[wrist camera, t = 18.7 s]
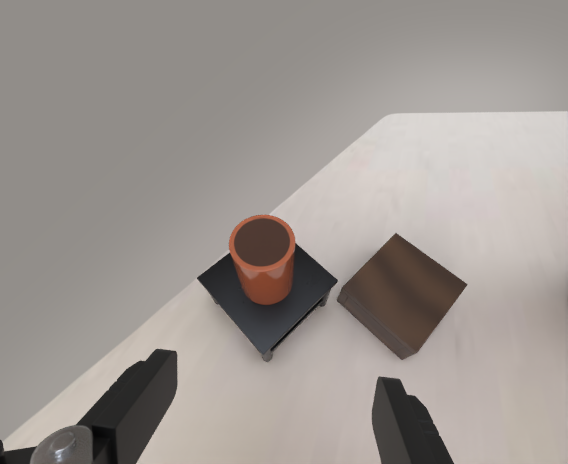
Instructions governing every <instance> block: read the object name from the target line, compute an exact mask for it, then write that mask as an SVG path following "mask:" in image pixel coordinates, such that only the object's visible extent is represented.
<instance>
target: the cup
mask: <svg viewBox="0 0 568 464" xmlns="http://www.w3.org/2000/svg"><path fill="white" fill-rule="evenodd" d="M229 250H230V254H231V257H232V260H233V263H234V266H235V268H236V271H237V274H238V277H239V280H240V283H241V286H242V289H243V291H244V293H245V295H246V296H247V297H248V298H249V299H250V300H252V301H253V302H255V303H258V304H262V305H270V304H275V303H277V302H280V301H281V300H283V299H284V298H285V297H286V296H287V295H288V294H289V292H290V290H291V288H292V285H293V273H294V257H295V236H294V233H293V231H292V229H291V228H290V227H289V225H288V224H287V223H286V222H284V221H283V220H281V219H280V218H277V217H274V216H270V215H256V216H253V217H250V218H248V219H245V220H244V221H242V222H241V223H240V224H238V225H237V226H236V227H235V229H234V230H233V232H232V234H231V236H230V240H229Z"/></svg>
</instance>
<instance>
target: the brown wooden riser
mask: <svg viewBox="0 0 568 464" xmlns="http://www.w3.org/2000/svg"><path fill="white" fill-rule="evenodd" d="M466 286H467V284H466V283H465V282H463V281H462V280H461V279H459V278H458V277H456V276H455V275H454V274H452V273H451V272H449V271H448V270H447V269H445V268H444V267H443V266H441V265H440V264H438V263H437V262H436V261H434V260H433V259H431V258H430V257H429V256H427V255H426V254H424V253H423V252H422V251H420V250H419V249H417V248H416V247H415V246H413V245H412V244H411V243H409V242H408V241H406V240H405V239H404V238H402V237H401V236H399V235H398V234H397V233H395V234H394V235H393V236H392V237H391V238H390V239H389V241H388V242H387V243H386V244H385V245H384V246H383V247H382V248H381V249H380V250H379V251H378V252H377V253H376V254H375V255H374V256H373V257H372V258H371V259H370V260H369V261H368V262H367V263H366V264H365V265H364V266H363V267H362V268H361V269H360V270H359V271H358V272H357V273H356V274H355V275H354V276H353V277H352V278H351V279H350V280H349V281H348V282H347V283H346V284H345V285H344V286H343V288H342V290H341V292H340V294H339V296H338V299H337V301H338V302H339V303H340V304H341V305H343V306H344V307H345V308H346V309H347V310H348V311H349V312H350V313H351V314H352V315H353V316H354V317H356V318H357V319H358V320H359V321H360V322H361V323H362V324H363V325H364V326H365V327H366V328H368V329H369V330H370V331H371V332H372V333H373V334H374V335H375V336H376V337H377V338H378V339H380V340H381V341H382V342H383V343H384V344H385V345H386V346H387V347H388V348H389V349H390V350H392V351H393V352H394V353H395V354H396V355H397V356H398V357H399V358H400V359H401V360H403V359H405V358H407V357H409V356H411V355H413V354H415V353H417V352H418V351H419V349H420V348H421V347H422V345H423V344H424V343H425V341H426V340H427V339H428V337H429V336H430V335H431V333H432V332H433V331H434V329H435V328H436V326H437V325H438V324H439V322H440V321H441V320H442V318H443V317H444V316H445V314H446V313H447V312H448V310H449V309H450V308H451V306H452V305H453V303H454V302H455V301H456V299H457V298H458V297H459V295H460V294H461V293H462V291H463V290H464V289H465V287H466Z"/></svg>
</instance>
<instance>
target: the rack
mask: <svg viewBox="0 0 568 464" xmlns="http://www.w3.org/2000/svg"><path fill="white" fill-rule="evenodd" d="M197 279H198V280H199V281H200V283H201V284H202V285H203V286H204V287H205V288H206V290H207V291H208V292H209V293H210V295H211V297H212V298H213V300H214V301H215V303H216V304H219V305H220V306H221V307H222V308H223V310H224V311H225V312H226V313H227V314H228V315H229V317H230V318H231V319H232V320H233V321H234V322H235V324H236V325H237V326H238V327H239V328H240V329H241V331H242V332H243V333H244V334H245V335H246V336H247V338H248V339H249V340H250V341H251V342H252V343H253V345H254V346H255V347H256V348H257V349H258V351H259V352H260V353H261V354H262V357H263V359H264V361H270V360H271V359H272V352H273V351H274V350H275V349H276V348H277V347H278V346H279V345H280V344H281V343H282V342H283V341H284V340H285V339H286V338H287V337H288V336H289V335H290V334H291V333H292V332H293V331H294V330H295V329H296V328H297V327H298V326H299V325H300V324H301V323H302V322H303V321H304V320H305V319H306V318H307V317H308V316H309V315H310V314H311V313H312V312H313V311H314V310H315V309H316V308H317V307H318V306H324V305H325V304H326V301H327V298H328V295H329V293H330V290H331V288H332V287H333V286H334V285H335V284H336V283H337V281H338V280H337V279H336V278H335V277H333V276H332V275H331V274H330V273H329V272H328V271H327V270H325V269H324V268H323V267H322V266H321V265H320V264H319V263H317V262H316V261H315V260H314V259H313V258H312V257H311V256H309V255H308V254H307V253H306V252H305V251H304V250H303V249H302V248H300V247H299V246H298V245H297V244H296V243H295V257H294V273H293V285H292V288H291V290H290V292H289V294H288V295H287V296H286V297H285V298H284V299H283V300H281V301H280V302H277V303H275V304H270V305H262V304H258V303H255V302H253V301H252V300H250V299H249V298H248V297H247V296H246V295H245V293H244V291H243V289H242V286H241V283H240V280H239V277H238V274H237V271H236V268H235V266H234V263H233V260H232V257H231V254H230V253H229V254H227V255H226V256H225V257H223V258H222V259H221V260H219V261H218V262H217V263H216V264H214V265H213V266H212V267H210V268H209V269H208V270H207V271H205V272H204V273H203V274H201V275H200V276H199V277H197Z"/></svg>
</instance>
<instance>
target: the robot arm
mask: <svg viewBox="0 0 568 464" xmlns="http://www.w3.org/2000/svg"><path fill="white" fill-rule="evenodd" d="M176 390H177V353H176V351H171V350H163V349H156V350H155V351H154V352H153V353H152V354H151V355H150V356H149V358H148V359H147V360H146V361H139V362H137V363H136V364H134V365H132V366H131V367H129V368H128V369H126V370H125V372H124V373H123V374H122V375H121V376H120V377H119V378H118V379H117V382H115V383H114V384H113V385H112V386H111V387H110V388H109V390H108V391H106V392H105V393H104V395H103V396H102V397H101V398H100V399H99V400H98V401H97V402H96V403H95V404H94V406H93V407H92V408H91V409H90V410H89V411H88V412H87V413H86V414H85V415H84V417H83V418H82V419H81V420H80V421H79V422H78V423H77V424H76V425H74V426H69V427H65V428H63V429H60V430H58V431H56V432H54V433H53V434H51V435H50V436H48V437H47V438H45V439H44V440H43V441H42V442H41V443H40V444H39V445H38V446H36V447H30V448H24V449H18V450H11V451H5V452H4V448H3V443H2V441H1V440H0V464H136V463H137V461H138V459H139V457H140V456H141V454H142V452H143V451H144V449H145V447H146V446H147V444H148V442H149V440H150V439H151V437H152V435H153V434H154V432H155V430H156V429H157V427H158V425H159V423H160V422H161V420H162V418H163V417H164V415H165V413H166V411H167V410H168V408H169V406H170V405H171V403H172V401H173V399H174V397H175V394H176ZM372 425H373V430H374V434H375V438H376V442H377V446H378V450H379V454H380V458H381V462H382V464H454V463H453V461H452V459H451V457H450V455H449V453H448V451H447V449H446V447H445V445H444V443H443V441H442V439H441V437H440V436H439V432H438V430H437V428H436V426H435V424H433V420H432V418H431V416H430V414H429V412H428V410H427V408H426V407H425V406H424V405H423V404H422V403H421V402H420V401H419V400H418V399H417V398H416V396H412V395H407V394H406V391H405V389H404V387H403V385H402V382H401V380H400V379H396V378H387V377H378V380H377V385H376V390H375V396H374V402H373V408H372Z"/></svg>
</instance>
